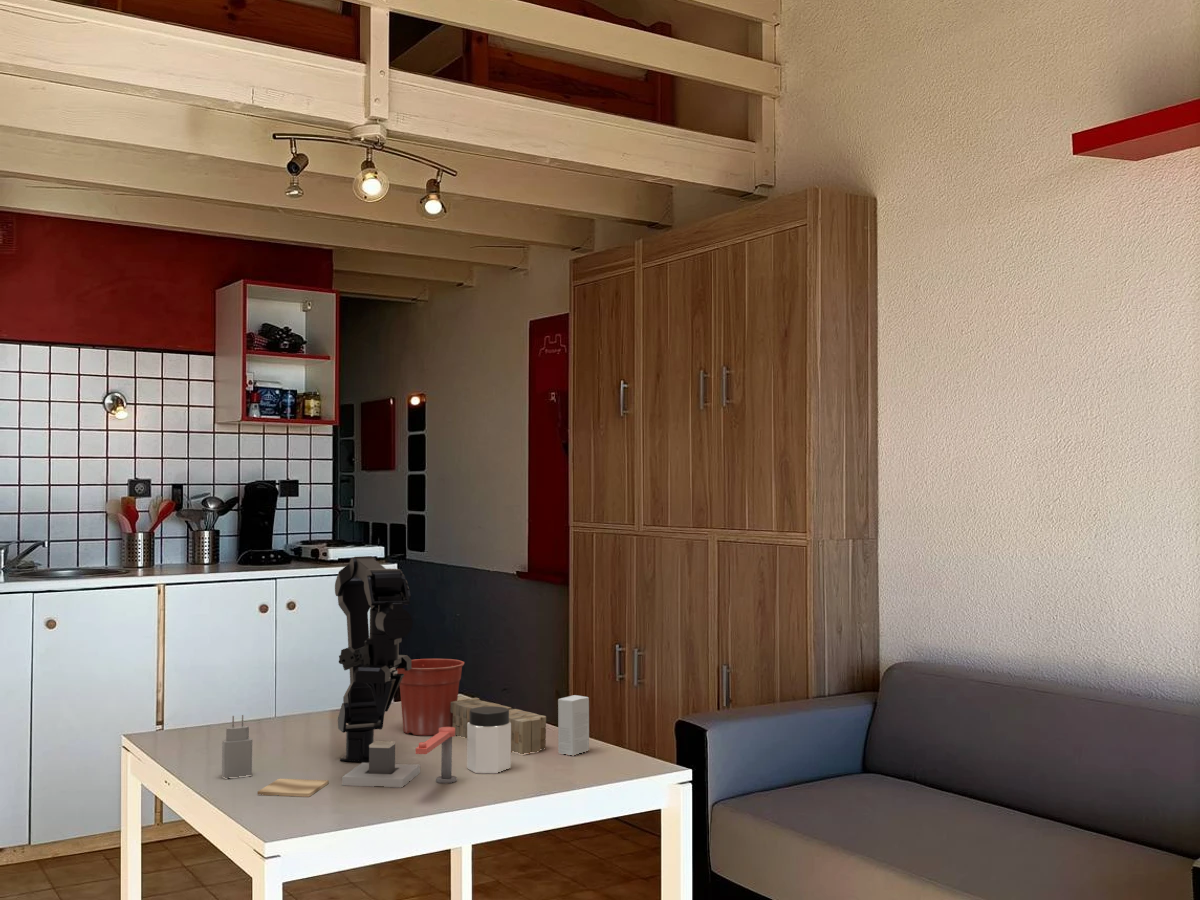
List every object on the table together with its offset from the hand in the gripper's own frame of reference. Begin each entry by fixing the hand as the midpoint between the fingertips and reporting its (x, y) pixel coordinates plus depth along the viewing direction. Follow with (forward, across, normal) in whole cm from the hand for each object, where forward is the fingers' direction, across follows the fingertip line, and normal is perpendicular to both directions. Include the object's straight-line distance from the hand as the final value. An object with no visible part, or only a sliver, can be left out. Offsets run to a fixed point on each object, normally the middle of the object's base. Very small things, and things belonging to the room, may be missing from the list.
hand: (382, 712), depth 223 cm
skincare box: (+13, -28, +34) cm, 46 cm away
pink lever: (+4, +7, +13) cm, 15 cm away
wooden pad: (+13, +10, -14) cm, 22 cm away
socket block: (+13, 0, +5) cm, 14 cm away
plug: (+13, 0, 0) cm, 13 cm away
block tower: (+14, -37, +15) cm, 42 cm away
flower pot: (+13, -46, -3) cm, 49 cm away
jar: (+13, -11, +19) cm, 26 cm away
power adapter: (+13, +2, -29) cm, 32 cm away
